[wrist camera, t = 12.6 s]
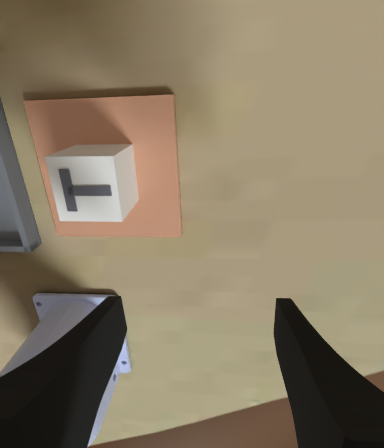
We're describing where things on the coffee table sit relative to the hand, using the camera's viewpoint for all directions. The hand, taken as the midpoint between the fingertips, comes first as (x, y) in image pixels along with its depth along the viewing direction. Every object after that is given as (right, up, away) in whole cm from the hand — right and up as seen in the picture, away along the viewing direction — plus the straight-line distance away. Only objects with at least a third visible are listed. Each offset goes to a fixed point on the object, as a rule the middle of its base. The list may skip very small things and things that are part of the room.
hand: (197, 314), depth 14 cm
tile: (-6, +8, +8) cm, 13 cm away
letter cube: (-6, +8, +7) cm, 12 cm away
